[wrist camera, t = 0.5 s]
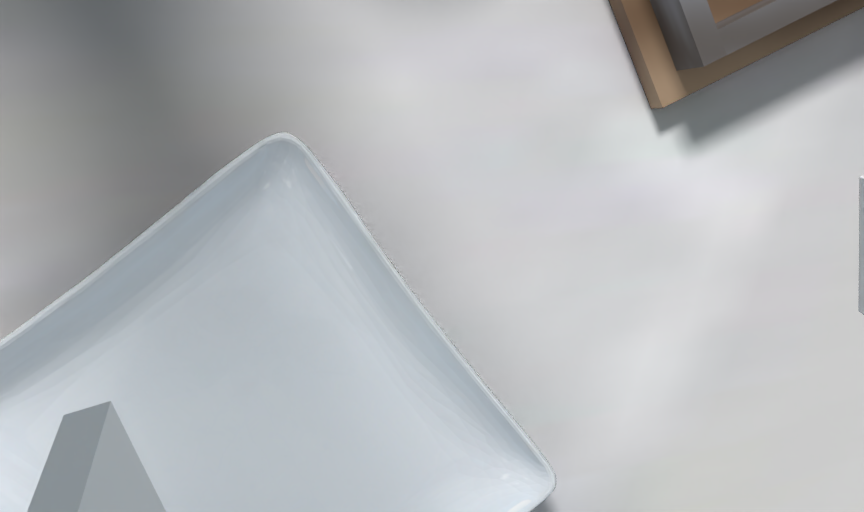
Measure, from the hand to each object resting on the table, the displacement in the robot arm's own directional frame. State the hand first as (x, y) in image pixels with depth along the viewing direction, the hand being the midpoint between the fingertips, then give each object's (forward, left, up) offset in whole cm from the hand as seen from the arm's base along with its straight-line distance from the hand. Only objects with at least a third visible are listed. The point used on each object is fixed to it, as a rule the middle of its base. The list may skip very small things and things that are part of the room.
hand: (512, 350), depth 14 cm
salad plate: (+7, -9, -25) cm, 28 cm away
